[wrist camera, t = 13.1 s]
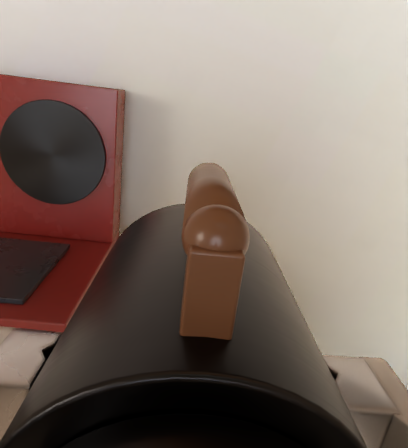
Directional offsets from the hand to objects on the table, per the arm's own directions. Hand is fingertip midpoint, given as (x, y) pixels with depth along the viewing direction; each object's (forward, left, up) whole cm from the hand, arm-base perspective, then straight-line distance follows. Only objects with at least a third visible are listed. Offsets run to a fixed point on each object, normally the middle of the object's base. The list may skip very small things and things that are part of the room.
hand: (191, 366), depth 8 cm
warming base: (+11, 0, -20) cm, 23 cm away
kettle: (0, 0, -4) cm, 4 cm away
